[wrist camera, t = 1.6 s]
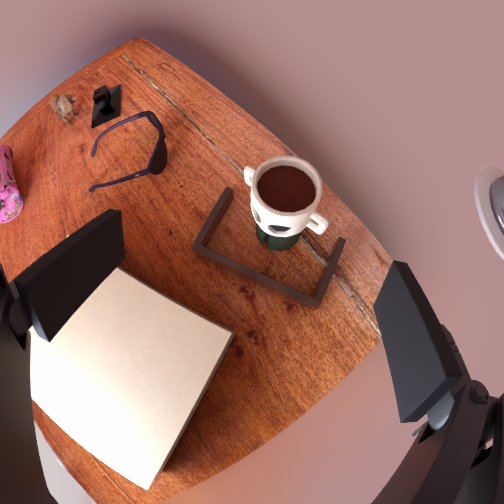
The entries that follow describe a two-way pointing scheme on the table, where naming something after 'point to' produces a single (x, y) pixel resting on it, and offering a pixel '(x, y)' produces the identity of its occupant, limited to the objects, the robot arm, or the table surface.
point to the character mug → (285, 200)
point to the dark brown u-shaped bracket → (253, 275)
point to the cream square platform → (127, 373)
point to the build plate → (106, 104)
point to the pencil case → (8, 187)
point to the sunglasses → (158, 156)
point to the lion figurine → (63, 106)
